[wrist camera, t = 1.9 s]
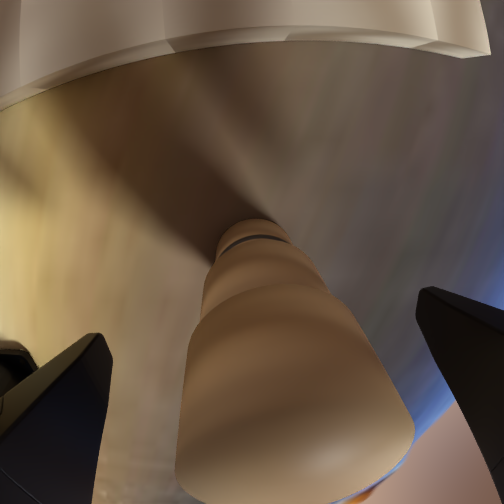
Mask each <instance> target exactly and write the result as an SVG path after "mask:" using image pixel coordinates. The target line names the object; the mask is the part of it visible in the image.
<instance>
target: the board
mask: <svg viewBox="0 0 504 504" xmlns="http://www.w3.org/2000/svg"><path fill="white" fill-rule="evenodd" d="M303 40H312V41H345V42H360V43H372V44H382V45H390V46H398V47H405V48H412V49H418V50H424V51H429V52H435V53H440V54H445V55H449V56H454V57H458V58H468V57H476V56H484V55H491V52H490V46H489V41H488V35H487V30H486V25H485V21H484V16H483V12H482V8H481V4H480V0H0V111H1V110H3V109H6V108H8V107H10V106H12V105H14V104H16V103H18V102H20V101H22V100H25V99H27V98H29V97H31V96H34V95H36V94H39V93H41V92H43V91H46V90H48V89H51V88H53V87H56V86H59V85H61V84H64V83H67V82H69V81H72V80H75V79H78V78H81V77H84V76H87V75H90V74H93V73H96V72H99V71H103V70H106V69H109V68H113V67H116V66H120V65H124V64H128V63H131V62H135V61H139V60H144V59H148V58H152V57H157V56H162V55H167V54H172V53H177V52H182V51H188V50H194V49H201V48H208V47H215V46H223V45H232V44H242V43H254V42H269V41H303Z"/></svg>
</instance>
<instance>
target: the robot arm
mask: <svg viewBox="0 0 504 504" xmlns="http://www.w3.org/2000/svg"><path fill="white" fill-rule="evenodd" d="M416 320H417V323H418V325H419V327H420V329H421V331H422V334H423V336H424V338H425V340H426V342H427V345H428V347H429V349H430V352H431V354H432V356H433V358H434V360H435V362H436V364H437V366H438V368H439V369H440V371H441V373H442V375H443V377H444V379H445V380H446V382H447V384H448V386H449V388H450V390H451V392H452V393H453V395H454V397H455V399H456V401H457V403H458V405H459V407H460V409H461V411H462V413H463V415H464V417H465V419H466V421H467V423H468V425H469V427H470V429H471V431H472V433H473V435H474V438H475V440H476V442H477V444H478V446H479V448H480V451H481V453H482V455H483V457H484V459H485V462H486V464H487V466H488V469H489V471H490V474H491V476H492V479H493V481H494V484H495V486H496V489H497V491H498V494H499V497H500V499H501V502H502V504H504V310H501V309H498V308H495V307H492V306H489V305H487V304H484V303H481V302H478V301H475V300H472V299H469V298H466V297H463V296H461V295H458V294H455V293H452V292H449V291H446V290H443V289H440V288H437V287H434V286H430V287H426V288H422V289H421V290H420V292H419V295H418V301H417V307H416ZM112 366H113V358H112V355H111V352H110V350H109V348H108V345H107V343H106V341H105V338H104V336H103V335H102V334H101V333H88V334H86V335H85V336H83V337H82V338H81V339H79V340H78V341H77V342H75V343H74V344H72V345H71V346H70V347H68V348H67V349H65V350H64V351H63V352H61V353H60V354H59V355H57V356H56V357H54V358H53V359H52V360H50V361H49V362H48V363H46V364H45V365H44V366H42V367H41V368H39V369H37V367H36V365H35V363H34V362H33V360H32V358H31V357H30V355H29V354H28V353H27V352H25V351H22V350H0V504H91V503H92V495H93V488H94V481H95V474H96V468H97V462H98V456H99V450H100V444H101V439H102V434H103V429H104V424H105V419H106V414H107V408H108V401H109V392H110V383H111V374H112Z"/></svg>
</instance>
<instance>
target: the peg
mask: <svg viewBox="0 0 504 504" xmlns="http://www.w3.org/2000/svg"><path fill="white" fill-rule="evenodd" d="M414 434H415V426H414V422H413V420H412V418H411V416H410V414H409V412H408V410H407V408H406V407H405V405H404V403H403V401H402V399H401V397H400V396H399V394H398V392H397V390H396V388H395V386H394V385H393V383H392V381H391V379H390V378H389V376H388V374H387V372H386V370H385V369H384V367H383V365H382V363H381V362H380V360H379V358H378V356H377V355H376V353H375V351H374V349H373V348H372V346H371V344H370V343H369V341H368V339H367V337H366V336H365V334H364V332H363V331H362V329H361V327H360V326H359V324H358V322H357V321H356V319H355V317H354V315H353V314H352V312H351V311H350V310H349V309H348V307H347V306H346V305H345V304H343V303H342V302H341V301H340V300H339V299H337V298H336V297H334V296H333V295H331V293H330V291H329V290H328V288H327V286H326V284H325V283H324V281H323V279H322V277H321V276H320V274H319V272H318V270H317V269H316V267H315V265H314V264H313V262H312V261H311V259H310V258H309V257H308V256H307V255H306V254H305V253H304V252H303V251H301V250H300V249H298V248H297V247H295V246H293V244H292V242H291V240H290V238H289V237H288V235H287V233H286V232H285V231H284V230H283V229H282V228H281V227H280V226H278V225H277V224H275V223H273V222H271V221H268V220H264V219H248V220H244V221H240V222H238V223H236V224H234V225H233V226H231V227H230V228H229V229H228V230H227V231H226V232H225V233H224V234H223V235H222V237H221V238H220V240H219V242H218V245H217V249H216V260H215V263H214V264H213V266H212V267H211V269H210V270H209V272H208V274H207V277H206V280H205V283H204V289H203V298H202V306H201V315H200V323H199V324H198V325H197V327H196V329H195V330H194V332H193V334H192V336H191V339H190V342H189V346H188V353H187V361H186V368H185V376H184V384H183V393H182V402H181V410H180V420H179V429H178V439H177V450H176V461H175V476H176V479H177V481H178V483H179V485H180V486H181V487H182V488H183V489H184V490H185V491H186V492H187V493H188V494H190V495H191V496H193V497H194V498H196V499H198V500H200V501H202V502H204V503H206V504H328V503H331V502H334V501H337V500H340V499H342V498H345V497H347V496H349V495H352V494H354V493H356V492H358V491H360V490H362V489H364V488H365V487H367V486H369V485H371V484H372V483H374V482H375V481H377V480H378V479H380V478H381V477H383V476H384V475H385V474H387V473H388V472H389V471H390V470H391V469H392V468H394V467H395V466H396V465H397V464H398V463H399V461H400V460H401V459H402V458H403V457H404V455H405V454H406V453H407V451H408V450H409V448H410V446H411V444H412V441H413V439H414Z"/></svg>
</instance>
